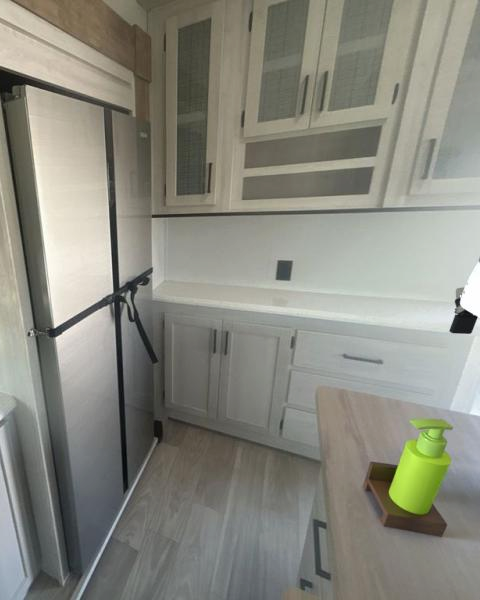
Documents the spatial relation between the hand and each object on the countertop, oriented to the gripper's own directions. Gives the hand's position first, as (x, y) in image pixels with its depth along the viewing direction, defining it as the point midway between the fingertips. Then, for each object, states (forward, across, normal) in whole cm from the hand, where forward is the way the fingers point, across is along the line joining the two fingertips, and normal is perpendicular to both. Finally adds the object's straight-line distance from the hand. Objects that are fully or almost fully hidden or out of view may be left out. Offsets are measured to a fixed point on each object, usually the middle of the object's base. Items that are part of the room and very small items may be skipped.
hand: (478, 345), depth 63 cm
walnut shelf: (+34, -12, +10) cm, 38 cm away
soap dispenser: (+30, -12, +10) cm, 34 cm away
